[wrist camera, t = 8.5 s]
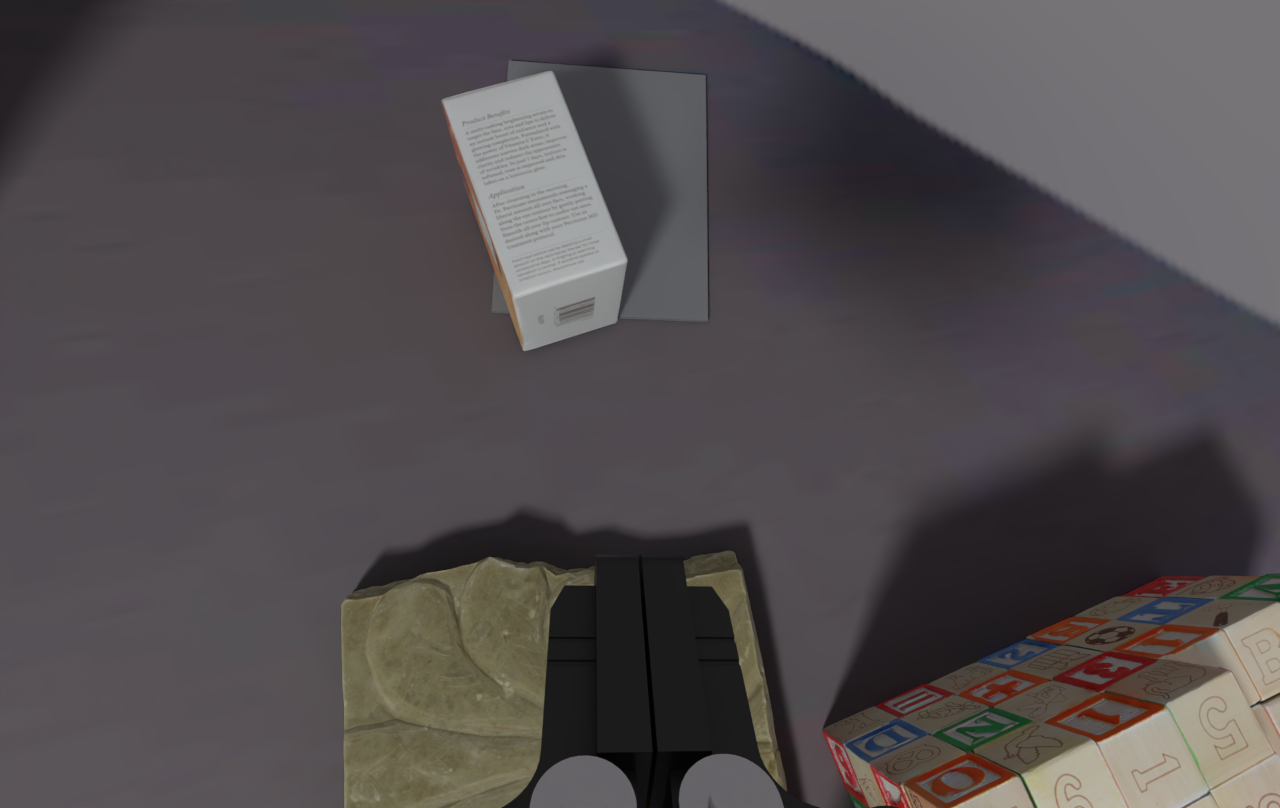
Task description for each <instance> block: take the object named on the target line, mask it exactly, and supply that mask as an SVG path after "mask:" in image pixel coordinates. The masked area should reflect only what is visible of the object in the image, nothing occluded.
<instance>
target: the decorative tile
mask: <svg viewBox="0 0 1280 808" xmlns="http://www.w3.org/2000/svg"><path fill="white" fill-rule="evenodd" d="M683 562H684V569H685V575H686V582H687V586H712V587H713V589H714V590H715V591H716V593H717V594H718V596H719V597H720V598H721V600H722V601H723V603H724V604H725V605H726V607H727V608H728V610H729V613H730V618H731V623H732V627H733V632H734V637H735V638H734V641H735V642H736V646H737V651H738V655H739V665H741V670H742V674H743V679H744V684H745V688H746V693H747V698H748V702H749V707H750V712H751V717H752V721H753V726H754V731H755V735H756V740H757V745H758V749H759V752H760V756H761V758H762V761H763V763H764V765H765V767H766V768H767V770H768V772H769V773H770V775H771V776H772V777H773V778H774V779H775V781H776V782H777V783H778V784H779V785H780V786H781V787H782V788H783V789H784V790H786V791H787V785H786V778H785V774H784V769H783V765H782V760H781V755H780V751H779V749H778V744H777V740H776V735H775V729H774V721H773V714H772V707H771V702H770V697H769V692H768V687H767V682H766V677H765V672H764V667H763V661H762V656H761V652H760V647H759V642H758V637H757V633H756V628H755V624H754V620H753V615H752V611H751V606H750V601H749V596H748V592H747V587H746V583H745V578H744V573H743V569H742V568H741V566H740V565H739V564H738V562H737V558H736V555H735V553H734V552H733V551H730V550H728V551H723V552H719V553H708V554H700V555H698V556H693V557H691V558H690V559H688V560H684V561H683ZM594 573H595V566H591V567H589V568H578V569H570V570H564V569H562V568H557V567H556V566H553V565H551V564H548V563H546V562H531V563H529V564H526V563H524V562H514V561H511V560H504V559H502V558H500V557H487V558H485V559H482V560H480V561H479V562H476V563H473V564H469V565H464V566H459V567H455V568H452V569H448V570H442V571H436V572H429V573H425V574H421V575H419V576H417V577H415V578H414V579H407V580H400V581H394V582H391V583H389V584H386V585H383V586H372V587H369V588H365V589H362V590H358V591H354V592H352V594H350V595H349V596H347V597H346V598H345V599H344V600H343V602H342V605H341V638H342V676H343V699H344V726H345V732H344V804H345V808H502V807H503V806H505V805H506V804H508V803H510V802H511V801H512V800H513V799H515V798H516V797H517V796H518V795H519V794H520V793H521V792H522V791H523V790H524V789H525V788H526V787H527V785H528V784H529V782H530V781H531V779H532V778H533V775H534V773H535V771H536V769H537V766H538V763H539V760H540V753H541V741H542V726H543V711H544V696H545V682H546V667H547V652H548V638H549V622H550V609H551V607H552V606H553V604H554V602H555V600H556V599H557V597H558V595H559V594H560V592H561V590H562V589H563V587H564V585H587V586H594Z"/></svg>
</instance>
